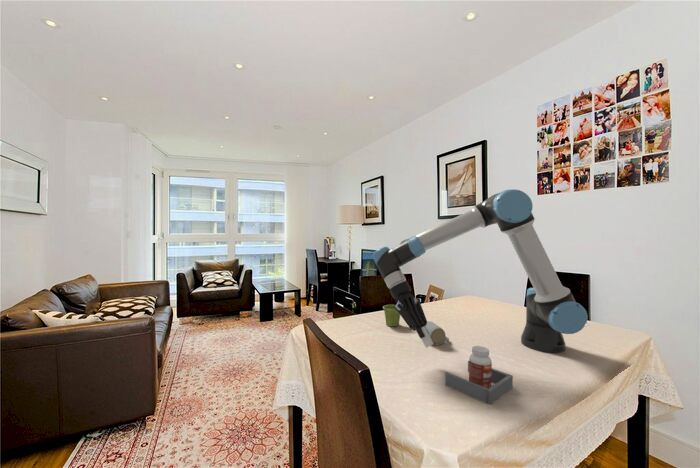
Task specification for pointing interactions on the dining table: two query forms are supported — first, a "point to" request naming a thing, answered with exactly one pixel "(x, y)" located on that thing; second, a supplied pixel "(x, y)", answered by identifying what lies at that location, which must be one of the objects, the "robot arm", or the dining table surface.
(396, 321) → the plant pot
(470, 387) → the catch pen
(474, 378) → the pill bottle
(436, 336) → the ceramic mug
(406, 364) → the dining table surface
